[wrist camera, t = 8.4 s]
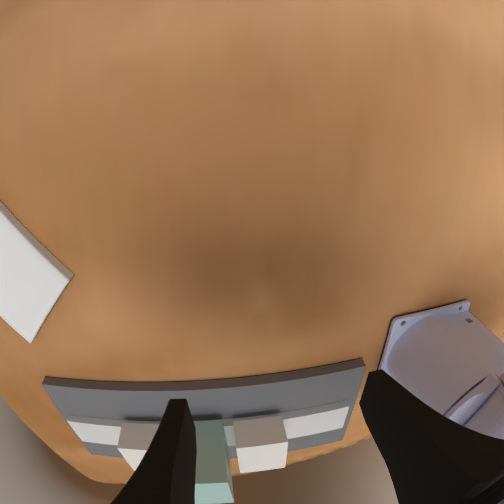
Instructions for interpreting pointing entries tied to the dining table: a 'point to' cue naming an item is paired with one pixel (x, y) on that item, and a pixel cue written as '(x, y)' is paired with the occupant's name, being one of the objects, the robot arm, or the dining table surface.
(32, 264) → the external hard drive
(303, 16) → the dining table surface
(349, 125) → the dining table surface
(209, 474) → the block
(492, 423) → the robot arm
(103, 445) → the rail board
